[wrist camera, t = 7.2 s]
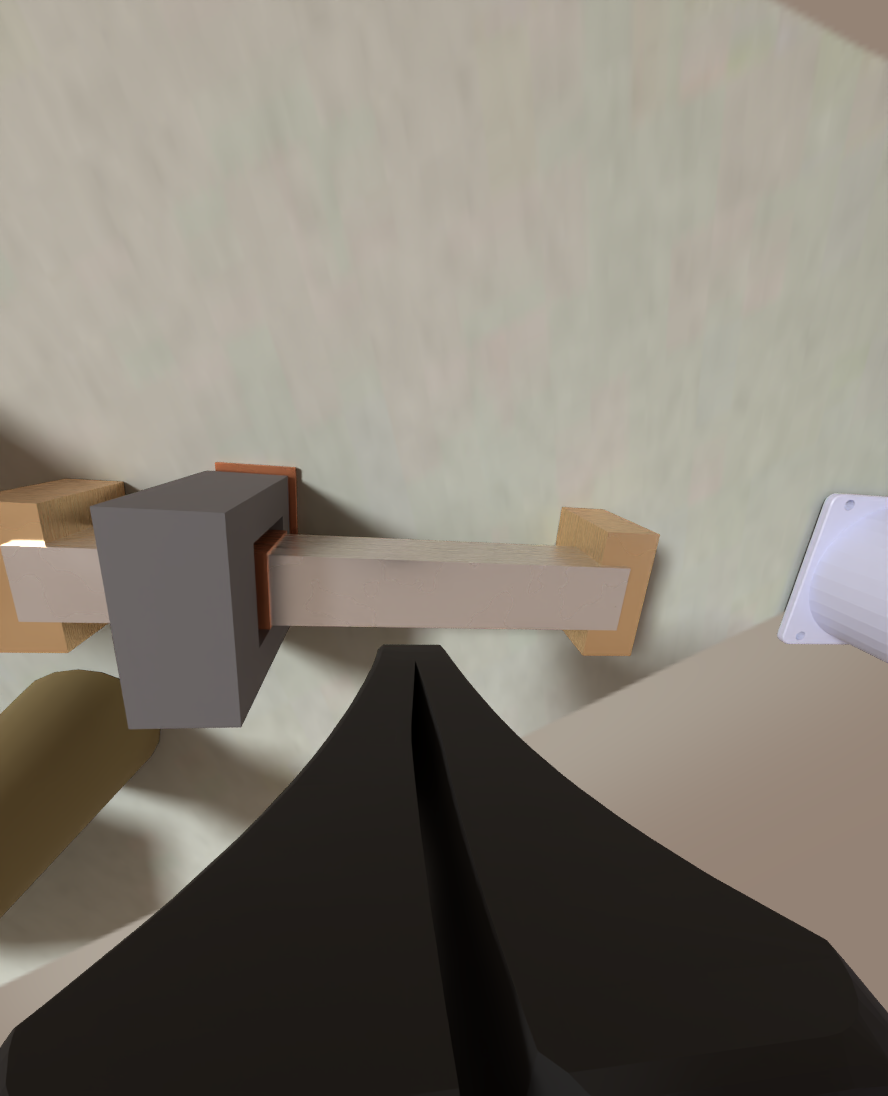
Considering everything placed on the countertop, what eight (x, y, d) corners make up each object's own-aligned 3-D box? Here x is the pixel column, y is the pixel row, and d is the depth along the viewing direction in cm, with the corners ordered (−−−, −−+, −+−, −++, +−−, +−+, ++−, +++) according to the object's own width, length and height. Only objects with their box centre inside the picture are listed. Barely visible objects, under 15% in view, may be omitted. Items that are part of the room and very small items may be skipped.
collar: (287, 475, 16) (224, 513, 10) (292, 620, 18) (241, 727, 12) (207, 470, 16) (89, 506, 10) (219, 619, 18) (128, 729, 12)
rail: (608, 487, 19) (673, 509, 14) (580, 627, 21) (629, 682, 16) (61, 451, 16) (-65, 466, 11) (92, 619, 18) (-4, 685, 13)
